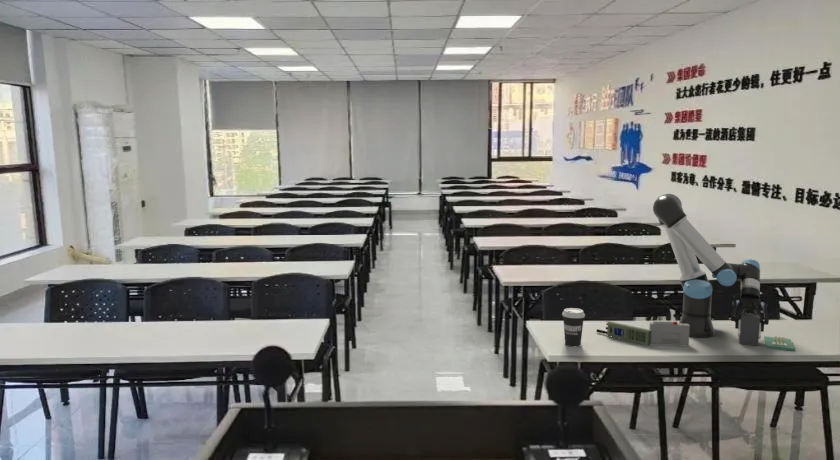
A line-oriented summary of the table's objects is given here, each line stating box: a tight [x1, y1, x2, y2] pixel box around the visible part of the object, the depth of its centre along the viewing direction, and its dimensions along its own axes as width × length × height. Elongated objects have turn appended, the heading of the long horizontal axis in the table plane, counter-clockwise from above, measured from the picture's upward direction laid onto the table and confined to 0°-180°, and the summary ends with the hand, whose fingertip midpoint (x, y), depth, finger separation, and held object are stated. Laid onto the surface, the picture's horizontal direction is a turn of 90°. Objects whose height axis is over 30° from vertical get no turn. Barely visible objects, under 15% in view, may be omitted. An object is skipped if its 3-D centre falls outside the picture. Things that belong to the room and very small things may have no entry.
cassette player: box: [648, 320, 690, 347], centre depth 257 cm, size 16×3×10 cm, turn 80°
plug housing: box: [738, 312, 760, 347], centre depth 257 cm, size 7×7×12 cm
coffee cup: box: [561, 307, 586, 347], centre depth 257 cm, size 10×10×15 cm
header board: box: [763, 335, 795, 352], centre depth 255 cm, size 10×14×4 cm
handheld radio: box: [596, 320, 652, 346], centre depth 265 cm, size 7×3×25 cm
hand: (749, 336), depth 255 cm, fingers closed on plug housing, 7 cm apart
